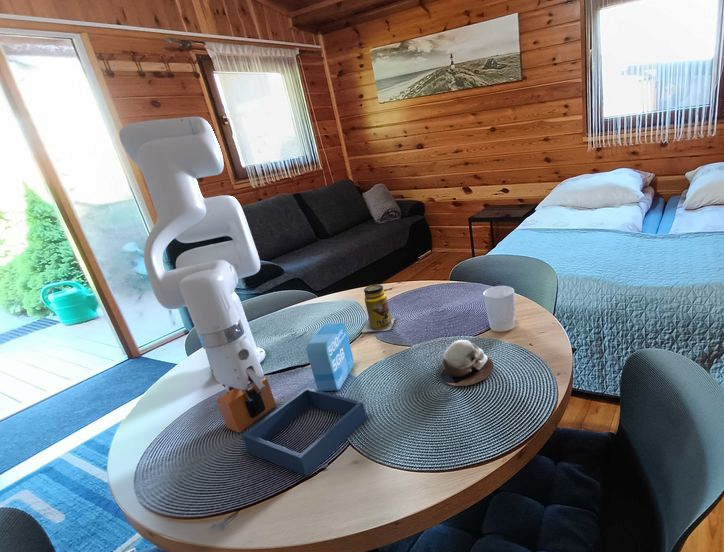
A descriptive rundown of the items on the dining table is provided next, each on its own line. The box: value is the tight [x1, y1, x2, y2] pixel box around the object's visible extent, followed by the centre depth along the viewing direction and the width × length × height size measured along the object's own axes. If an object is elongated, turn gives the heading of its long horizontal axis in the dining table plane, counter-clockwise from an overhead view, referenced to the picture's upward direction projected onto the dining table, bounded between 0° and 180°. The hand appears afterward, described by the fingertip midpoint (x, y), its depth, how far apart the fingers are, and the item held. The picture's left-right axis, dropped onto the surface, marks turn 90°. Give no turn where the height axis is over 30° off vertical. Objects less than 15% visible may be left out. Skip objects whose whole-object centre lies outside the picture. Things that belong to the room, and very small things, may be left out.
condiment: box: [360, 283, 396, 333], centre depth 122 cm, size 7×8×12 cm
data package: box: [306, 322, 355, 392], centre depth 98 cm, size 12×4×12 cm, turn 176°
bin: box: [241, 387, 368, 477], centre depth 82 cm, size 16×16×4 cm
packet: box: [215, 377, 277, 433], centre depth 89 cm, size 4×9×7 cm, turn 152°
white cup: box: [483, 285, 516, 333], centre depth 113 cm, size 8×8×10 cm
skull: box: [439, 339, 494, 387], centre depth 96 cm, size 12×10×10 cm
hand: (250, 410), depth 90 cm, fingers open, 4 cm apart
